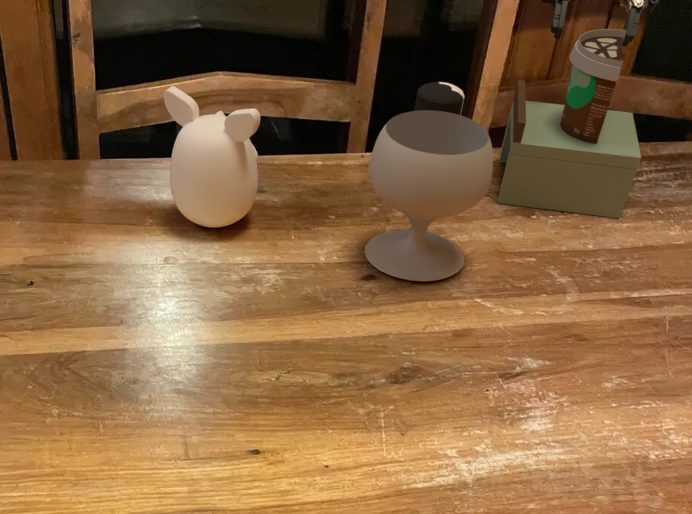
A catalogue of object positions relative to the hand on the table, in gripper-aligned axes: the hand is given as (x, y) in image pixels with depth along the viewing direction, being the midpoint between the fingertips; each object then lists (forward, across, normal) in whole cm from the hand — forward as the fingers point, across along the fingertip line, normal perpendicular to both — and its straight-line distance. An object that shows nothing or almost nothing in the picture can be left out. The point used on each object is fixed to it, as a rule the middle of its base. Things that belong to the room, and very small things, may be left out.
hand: (591, 39), depth 120 cm
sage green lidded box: (+16, 0, +7) cm, 18 cm away
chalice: (+33, -18, -9) cm, 39 cm away
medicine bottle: (+18, -18, +6) cm, 26 cm away
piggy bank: (+31, -44, -7) cm, 54 cm away
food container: (+10, 0, +2) cm, 10 cm away
